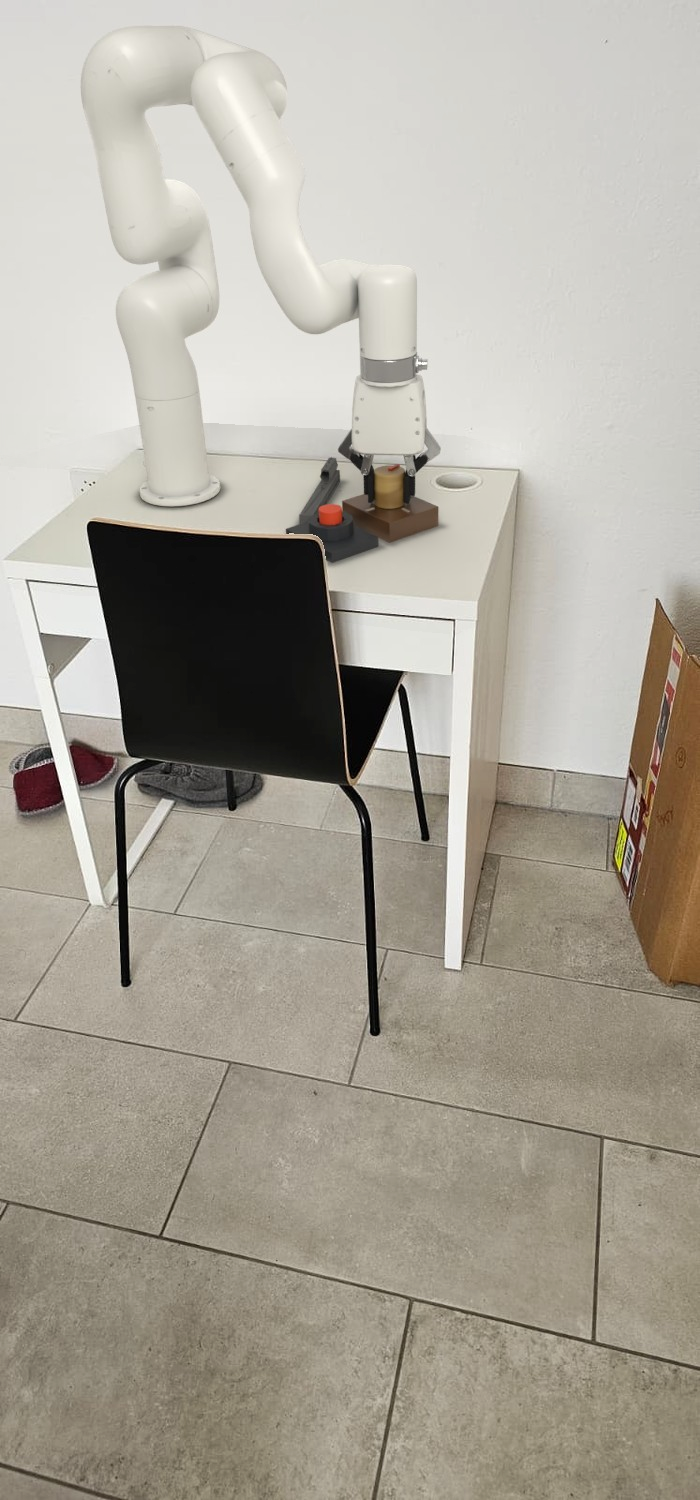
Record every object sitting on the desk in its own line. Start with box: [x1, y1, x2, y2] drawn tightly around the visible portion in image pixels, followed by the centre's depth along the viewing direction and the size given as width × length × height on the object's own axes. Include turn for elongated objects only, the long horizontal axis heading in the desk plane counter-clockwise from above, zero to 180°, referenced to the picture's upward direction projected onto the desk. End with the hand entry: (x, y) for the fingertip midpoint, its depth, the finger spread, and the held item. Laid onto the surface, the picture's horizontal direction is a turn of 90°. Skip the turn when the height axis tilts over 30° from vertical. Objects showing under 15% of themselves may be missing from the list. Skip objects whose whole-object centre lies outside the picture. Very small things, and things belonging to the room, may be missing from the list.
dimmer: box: [341, 493, 439, 544], centre depth 146 cm, size 11×9×3 cm
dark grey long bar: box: [298, 456, 341, 524], centre depth 153 cm, size 19×3×4 cm, turn 168°
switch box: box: [285, 512, 379, 564], centre depth 141 cm, size 11×8×4 cm
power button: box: [319, 503, 342, 525], centre depth 140 cm, size 3×3×2 cm
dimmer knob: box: [374, 463, 406, 509], centre depth 144 cm, size 4×4×5 cm
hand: (389, 498), depth 145 cm, fingers closed on dimmer knob, 4 cm apart
